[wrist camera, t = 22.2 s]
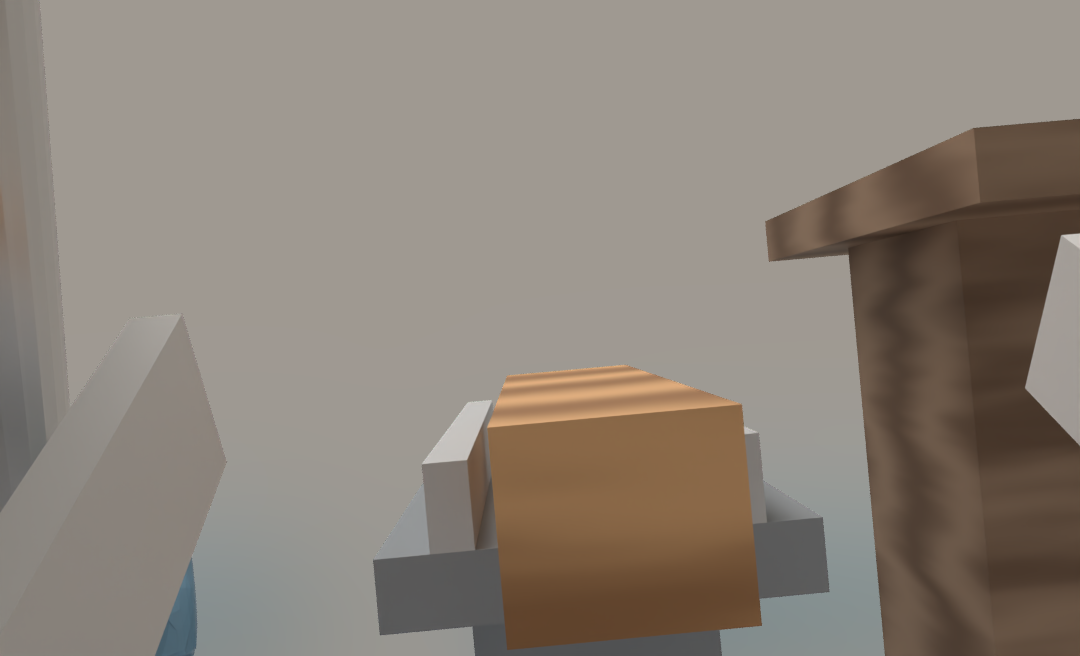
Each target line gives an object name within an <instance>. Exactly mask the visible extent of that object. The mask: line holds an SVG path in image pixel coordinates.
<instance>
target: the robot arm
mask: <svg viewBox="0 0 1080 656" xmlns="http://www.w3.org/2000/svg"><path fill="white" fill-rule="evenodd" d="M1025 389H1026V390H1027V391H1028V392H1029V393H1030V394H1031V395H1032V396H1033V397H1034V398H1035V399H1036V400H1037V401H1038V402H1039V403H1040V404H1041V405H1042V407H1043V408H1044V409H1045V410H1046V411H1047V412H1048V413H1049V414H1050V415H1051V416H1052V417H1053V418H1054V419H1055V420H1056V421H1057V422H1058V423H1059V424H1060V425H1061V427H1062V428H1063V429H1064V430H1065V431H1066V432H1067V433H1068V434H1069V435H1070V436H1071V437H1072V438H1073V439H1074V440H1075V441H1076V442H1077V443H1078V444H1079V445H1080V234H1069V235H1061V238H1060V242H1059V247H1058V251H1057V255H1056V259H1055V263H1054V268H1053V272H1052V276H1051V280H1050V284H1049V289H1048V293H1047V297H1046V301H1045V305H1044V310H1043V314H1042V318H1041V322H1040V327H1039V331H1038V335H1037V339H1036V343H1035V348H1034V352H1033V356H1032V360H1031V364H1030V369H1029V373H1028V377H1027V381H1026V385H1025ZM226 463H227V461H226V458H225V455H224V452H223V448H222V445H221V441H220V438H219V435H218V431H217V428H216V425H215V421H214V418H213V415H212V411H211V408H210V405H209V401H208V398H207V394H206V391H205V388H204V384H203V381H202V378H201V374H200V371H199V368H198V364H197V361H196V358H195V355H194V351H193V348H192V344H191V341H190V338H189V334H188V331H187V328H186V324H185V321H184V318H183V314H172V315H161V316H149V317H137V318H130V319H129V320H128V322H127V323H126V325H125V326H124V328H123V329H122V331H121V332H120V334H119V335H118V337H117V338H116V340H115V341H114V343H113V344H112V346H111V347H110V349H109V350H108V352H107V353H106V355H105V356H104V358H103V359H102V361H101V362H100V364H99V365H98V367H97V368H96V370H95V371H94V373H93V374H92V376H91V377H90V379H89V380H88V382H87V383H86V385H85V386H84V388H83V389H82V391H81V392H80V394H79V396H78V397H77V398H76V400H75V401H74V403H73V404H71V403H70V402H69V389H68V375H67V362H66V349H65V336H64V322H63V309H62V295H61V283H60V269H59V255H58V241H57V228H56V215H55V202H54V189H53V174H52V162H51V148H50V134H49V121H48V108H47V95H46V81H45V67H44V54H43V40H42V27H41V14H40V1H39V0H0V656H193V655H194V651H195V649H196V638H197V609H196V593H195V582H194V572H193V563H192V554H193V552H194V549H195V546H196V543H197V540H198V538H199V536H200V533H201V530H202V527H203V525H204V522H205V519H206V517H207V514H208V511H209V509H210V506H211V503H212V501H213V498H214V495H215V493H216V490H217V487H218V484H219V482H220V479H221V476H222V473H223V471H224V468H225V465H226Z"/></svg>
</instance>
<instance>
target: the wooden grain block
mask: <svg viewBox="0 0 1080 656" xmlns="http://www.w3.org/2000/svg"><path fill="white" fill-rule="evenodd" d="M487 431H488V443H489V454H490V465H491V476H492V487H493V498H494V509H495V520H496V532H497V543H498V554H499V565H500V576H501V587H502V598H503V609H504V620H505V632H506V643H507V650H514V649H524V648H535V647H545V646H556V645H566V644H577V643H587V642H597V641H608V640H618V639H629V638H639V637H650V636H660V635H670V634H681V633H691V632H702V631H712V630H722V629H732V628H743V627H753V626H762V623H761V611H760V600H759V589H758V577H757V566H756V555H755V544H754V533H753V522H752V511H751V500H750V489H749V478H748V467H747V456H746V445H745V434H744V422H743V412H742V405H741V404H739V403H736V402H733V401H730V400H727V399H724V398H722V397H719V396H716V395H713V394H710V393H707V392H704V391H701V390H698V389H695V388H692V387H689V386H686V385H683V384H681V383H677V382H675V381H672V380H669V379H665V378H663V377H660V376H657V375H654V374H651V373H648V372H645V371H642V370H639V369H636V368H633V367H630V366H627V365H619V366H608V367H597V368H586V369H575V370H564V371H553V372H543V373H531V374H520V375H509V376H507V378H506V380H505V383H504V386H503V388H502V391H501V394H500V396H499V398H498V401H497V404H496V407H495V409H494V411H493V414H492V417H491V419H490V422H489V424H488V427H487Z"/></svg>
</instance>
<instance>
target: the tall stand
mask: <svg viewBox="0 0 1080 656" xmlns="http://www.w3.org/2000/svg"><path fill="white" fill-rule="evenodd" d="M1069 234H1080V119H1073V120H1062V121H1050V122H1038V123H1027V124H1016V125H1004V126H993V127H980V128H973V129H971V130H968V131H966V132H964V133H962V134H959V135H957V136H955V137H953V138H950V139H949V140H946V141H944V142H941V143H939V144H937V145H935V146H933V147H930V148H928V149H926V150H924V151H921V152H919V153H917V154H915V155H913V156H910V157H908V158H906V159H904V160H901V161H899V162H897V163H895V164H892V165H890V166H888V167H886V168H884V169H881V170H879V171H877V172H875V173H872V174H870V175H868V176H866V177H864V178H861V179H859V180H857V181H855V182H852V183H850V184H848V185H846V186H844V187H841V188H839V189H837V190H835V191H832V192H830V193H828V194H826V195H823V196H821V197H819V198H817V199H815V200H812V201H810V202H808V203H806V204H803V205H801V206H799V207H797V208H795V209H792V210H790V211H788V212H786V213H783V214H781V215H779V216H777V217H774V218H773V219H770V220H768V221H766V235H767V246H768V257H769V262H770V261H780V260H792V259H804V258H815V257H826V256H838V255H849V263H850V274H851V285H852V296H853V307H854V318H855V329H856V339H857V351H858V362H859V373H860V385H861V396H862V407H863V418H864V428H865V439H866V451H867V462H868V473H869V483H870V495H871V506H872V517H873V528H874V539H875V550H876V561H877V572H878V583H879V594H880V606H881V617H882V627H883V639H884V649H885V656H1080V445H1079V444H1078V443H1077V442H1076V441H1075V440H1074V439H1073V438H1072V437H1071V436H1070V435H1069V434H1068V433H1067V432H1066V431H1065V430H1064V429H1063V428H1062V427H1061V425H1060V424H1059V423H1058V422H1057V421H1056V420H1055V419H1054V418H1053V417H1052V416H1051V415H1050V414H1049V413H1048V412H1047V411H1046V410H1045V409H1044V408H1043V407H1042V405H1041V404H1040V403H1039V402H1038V401H1037V400H1036V399H1035V398H1034V397H1033V396H1032V395H1031V394H1030V393H1029V392H1028V391H1027V390H1026V389H1025V385H1026V381H1027V377H1028V373H1029V369H1030V364H1031V360H1032V356H1033V352H1034V348H1035V343H1036V339H1037V335H1038V331H1039V327H1040V322H1041V318H1042V314H1043V310H1044V305H1045V301H1046V297H1047V293H1048V289H1049V284H1050V280H1051V276H1052V272H1053V268H1054V263H1055V259H1056V255H1057V251H1058V247H1059V242H1060V238H1061V235H1069Z"/></svg>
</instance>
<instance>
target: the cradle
mask: <svg viewBox="0 0 1080 656" xmlns="http://www.w3.org/2000/svg"><path fill="white" fill-rule="evenodd" d="M492 414H493V402H492V400H487V401H477V402H468V403H467V404H466V406H465V407H464V409H463V410H462V411H461V413H460V414H459V415H458V416H457V418H456V419H455V420H454V422H453V423H452V425H451V426H450V427H449V429H448V430H447V431H446V433H445V434H444V435H443V437H442V438H441V439H440V441H439V442H438V443H437V444H436V446H435V447H434V449H433V450H432V451H431V452H430V454H429V455H428V456H427V458H426V459H425V460H424V462H423V463H422V473H423V484H422V485H421V487H420V489H419V490H418V492H417V493H416V495H415V496H414V498H413V499H412V501H411V502H410V504H409V506H408V507H407V509H406V510H405V512H404V513H403V515H402V516H401V518H400V519H399V521H398V523H397V524H396V526H395V527H394V529H393V530H392V532H391V533H390V535H389V536H388V538H387V539H386V541H385V543H384V544H383V546H382V547H381V549H380V550H379V552H378V553H377V555H376V556H375V558H374V559H373V564H374V575H375V586H376V595H377V607H378V619H379V630H380V635H388V634H399V633H408V632H420V631H430V630H440V629H449V628H460V627H471V626H473V636H474V648H475V656H722V652H721V642H720V631H719V630H712V631H702V632H691V633H681V634H670V635H660V636H650V637H639V638H629V639H618V640H608V641H597V642H587V643H577V644H566V645H556V646H545V647H535V648H524V649H514V650H507V643H506V632H505V620H504V609H503V598H502V587H501V576H500V565H499V554H498V543H497V532H496V520H495V509H494V498H493V487H492V476H491V465H490V454H489V443H488V431H487V427H488V424H489V422H490V419H491V417H492ZM744 434H745V445H746V456H747V467H748V478H749V489H750V500H751V511H752V522H753V533H754V544H755V555H756V566H757V577H758V589H759V599H761V598H772V597H782V596H793V595H803V594H814V593H824V592H829V581H828V570H827V560H826V548H825V537H824V525H823V517H821V516H820V515H818V514H817V513H815V512H813V511H812V510H810V509H809V508H807V507H805V506H804V505H802V504H801V503H799V502H797V501H796V500H794V499H792V498H791V497H789V496H787V495H786V494H784V493H783V492H781V491H779V490H778V489H776V488H775V487H773V486H771V485H770V484H768V483H767V482H765V481H763V473H762V461H761V450H760V440H759V433H758V432H756V431H754V430H751V429H749V428H747V427H744Z"/></svg>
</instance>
